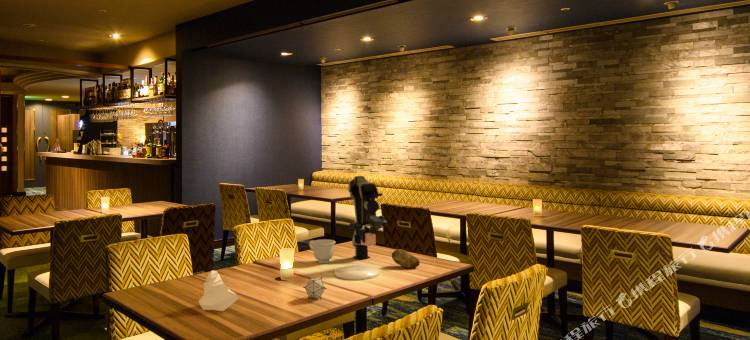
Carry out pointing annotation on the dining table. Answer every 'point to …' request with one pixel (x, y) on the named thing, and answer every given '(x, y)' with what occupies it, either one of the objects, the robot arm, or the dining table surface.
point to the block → (369, 239)
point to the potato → (405, 259)
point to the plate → (356, 272)
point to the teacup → (322, 249)
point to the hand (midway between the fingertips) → (368, 242)
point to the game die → (314, 288)
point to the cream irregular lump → (216, 294)
